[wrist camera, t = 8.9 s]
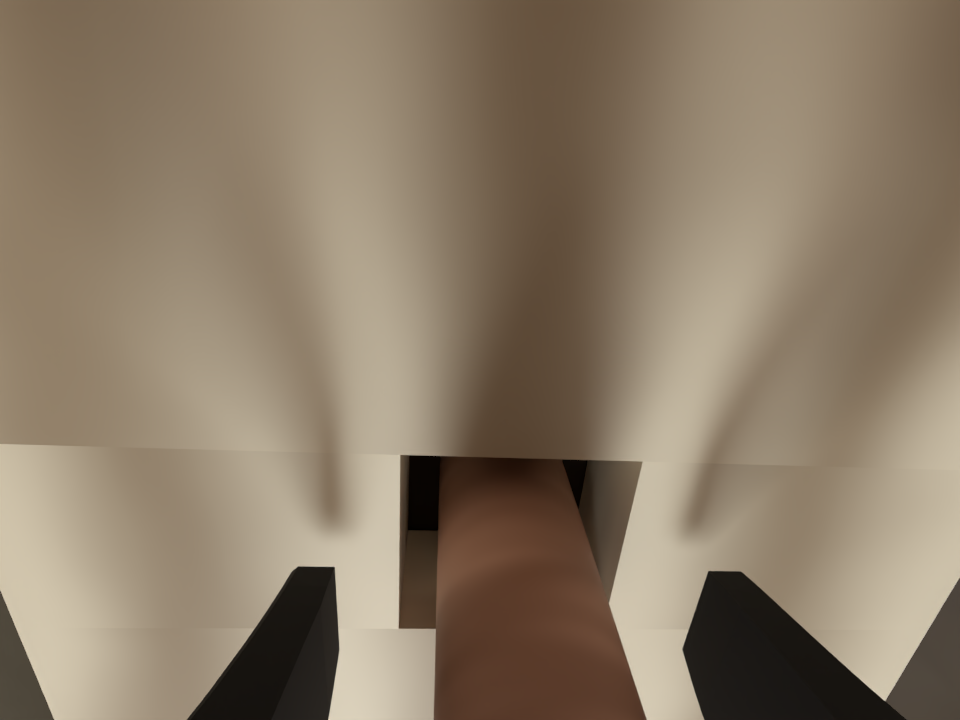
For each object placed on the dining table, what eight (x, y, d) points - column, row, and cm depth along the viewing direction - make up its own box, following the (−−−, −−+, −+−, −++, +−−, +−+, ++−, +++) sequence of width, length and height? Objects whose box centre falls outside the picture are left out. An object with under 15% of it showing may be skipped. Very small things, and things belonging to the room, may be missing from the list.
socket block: (1070, 38, 10) (1299, 12, 7) (763, 710, 18) (817, 813, 16) (-70, -72, 9) (-311, -157, 6) (157, 716, 17) (101, 832, 14)
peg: (566, 411, 13) (797, 1000, 4) (550, 509, 14) (707, 1116, 6) (442, 407, 13) (429, 1020, 4) (437, 506, 14) (421, 1137, 5)
